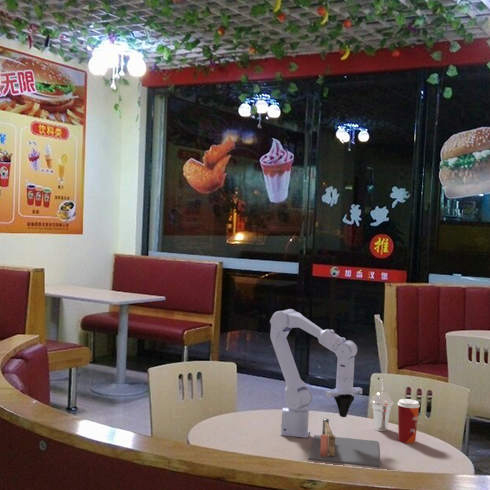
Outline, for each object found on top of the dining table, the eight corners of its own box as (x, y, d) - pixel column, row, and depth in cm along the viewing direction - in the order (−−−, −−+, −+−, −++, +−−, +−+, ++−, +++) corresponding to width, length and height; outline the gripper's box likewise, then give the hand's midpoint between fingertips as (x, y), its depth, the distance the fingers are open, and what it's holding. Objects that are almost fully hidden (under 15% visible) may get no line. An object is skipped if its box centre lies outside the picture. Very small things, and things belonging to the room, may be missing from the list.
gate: (323, 439, 228) (323, 421, 228) (328, 439, 228) (329, 422, 228) (328, 455, 213) (329, 436, 212) (334, 455, 213) (335, 436, 212)
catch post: (319, 458, 213) (320, 436, 213) (320, 455, 215) (321, 434, 215) (327, 458, 212) (328, 437, 212) (327, 456, 215) (328, 434, 214)
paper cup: (418, 445, 229) (420, 405, 229) (395, 443, 231) (397, 403, 231) (417, 438, 237) (419, 399, 237) (395, 436, 239) (397, 397, 238)
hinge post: (321, 441, 229) (322, 419, 229) (322, 439, 231) (323, 418, 231) (327, 442, 229) (328, 420, 229) (328, 440, 231) (329, 418, 231)
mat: (308, 459, 211) (308, 457, 211) (314, 436, 235) (314, 434, 235) (379, 466, 207) (379, 465, 207) (378, 442, 231) (378, 441, 231)
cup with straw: (397, 430, 245) (399, 376, 245) (379, 434, 240) (382, 379, 240) (380, 424, 252) (382, 371, 252) (362, 427, 247) (365, 374, 247)
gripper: (335, 381, 220) (333, 422, 221) (369, 377, 228) (366, 417, 228) (322, 376, 226) (320, 416, 227) (355, 373, 234) (353, 411, 234)
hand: (342, 416), depth 228 cm, fingers closed
